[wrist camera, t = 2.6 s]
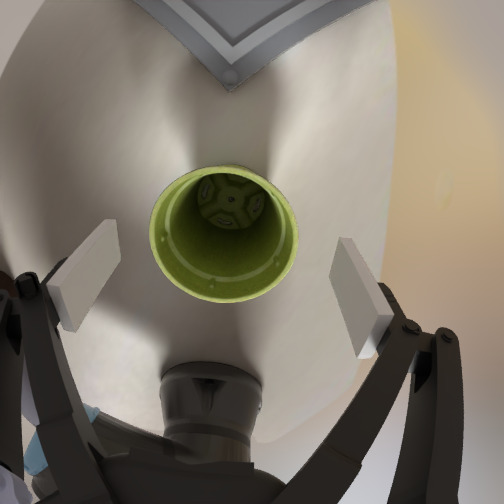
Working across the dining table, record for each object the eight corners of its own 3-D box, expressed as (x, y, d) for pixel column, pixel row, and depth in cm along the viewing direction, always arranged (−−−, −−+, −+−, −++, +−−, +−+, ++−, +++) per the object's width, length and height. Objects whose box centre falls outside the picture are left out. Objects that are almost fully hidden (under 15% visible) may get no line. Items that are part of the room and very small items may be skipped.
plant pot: (171, 232, 27) (144, 286, 19) (189, 134, 22) (158, 152, 15) (267, 253, 28) (273, 314, 21) (297, 160, 24) (320, 190, 16)
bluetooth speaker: (78, 409, 47) (66, 446, 38) (47, 400, 47) (34, 433, 38) (30, 338, 36) (4, 381, 27) (-1, 329, 36) (-26, 366, 27)
